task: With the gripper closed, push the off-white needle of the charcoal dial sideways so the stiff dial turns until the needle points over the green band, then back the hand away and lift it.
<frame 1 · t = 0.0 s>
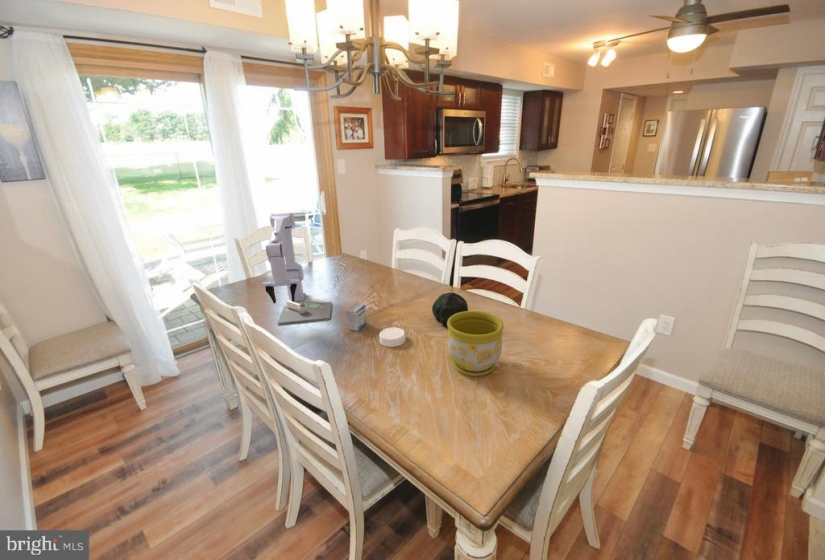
hand: (284, 301, 153), 10 cm above the table, tool pointing down, fingers open, 7 cm apart
squash: (450, 322, 153), on the table
dial base: (303, 314, 164), on the table
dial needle: (296, 306, 166), point 3 cm above the table, hinge at 45.0°
flowerpot: (473, 366, 122), on the table
coaster: (392, 341, 140), on the table
medicine box: (357, 326, 152), on the table
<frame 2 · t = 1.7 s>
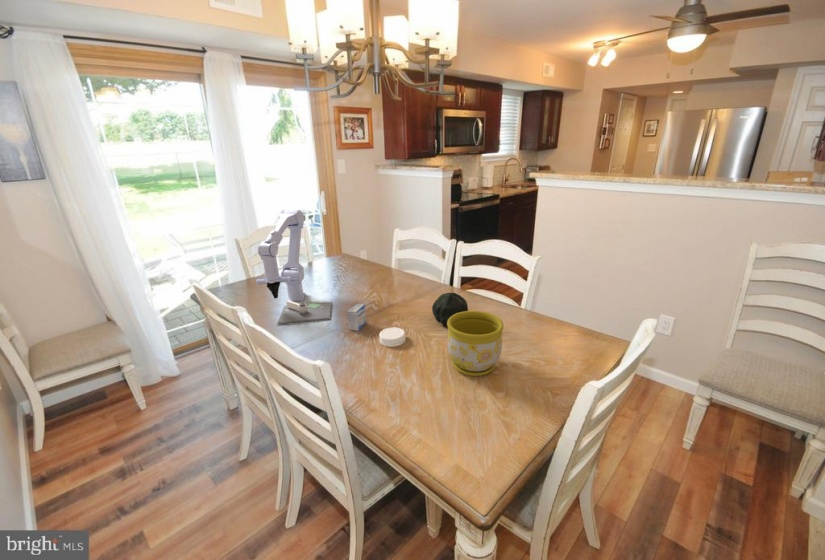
hand: (276, 297, 165), 7 cm above the table, tool pointing down, fingers closed
nothing on the table moved.
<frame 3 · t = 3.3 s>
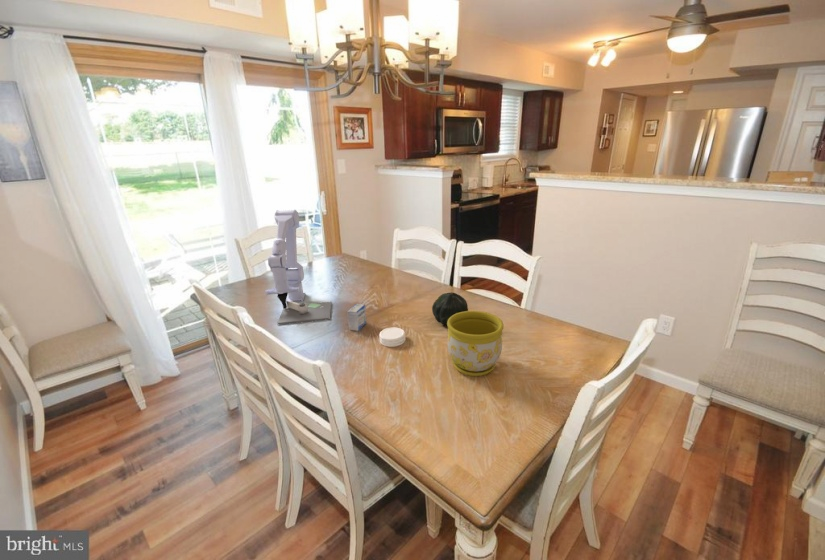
hand: (285, 307, 168), 2 cm above the table, tool pointing down, fingers closed, pressing on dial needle
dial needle: (296, 306, 166), point 3 cm above the table, hinge at 44.5°, touching gripper
everything else where it was.
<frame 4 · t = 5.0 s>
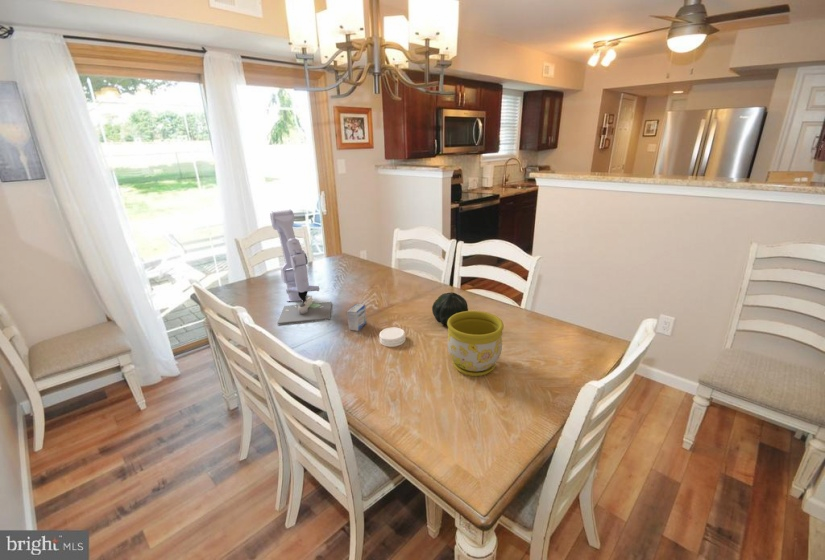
hand: (305, 305, 170), 2 cm above the table, tool pointing down, fingers closed, pressing on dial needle
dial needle: (306, 304, 167), point 3 cm above the table, hinge at -13.9°, touching gripper
everything else where it was.
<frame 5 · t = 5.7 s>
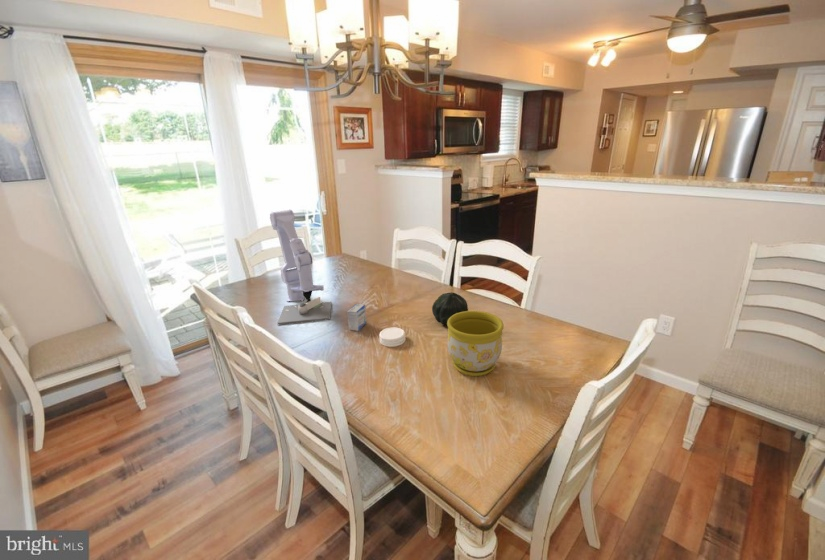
hand: (309, 305, 170), 2 cm above the table, tool pointing down, fingers closed, pressing on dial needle
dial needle: (309, 304, 167), point 3 cm above the table, hinge at -38.5°, touching gripper
everything else where it was.
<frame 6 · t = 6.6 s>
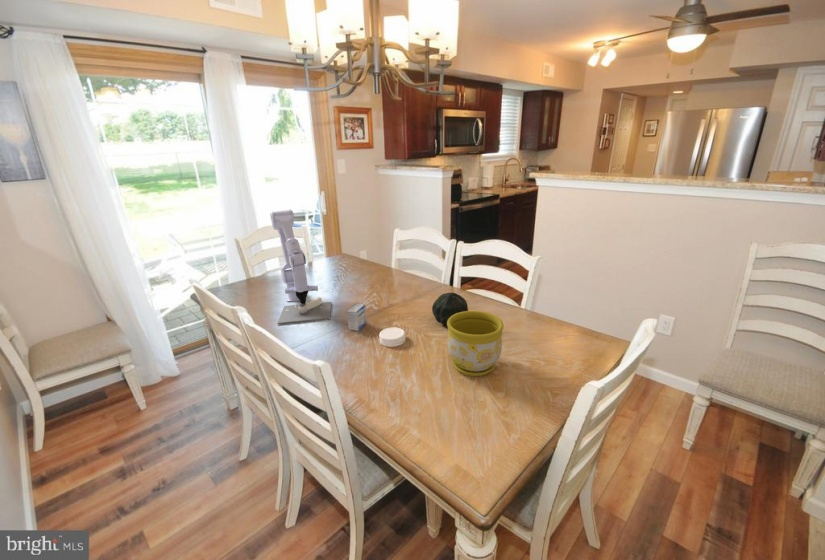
hand: (304, 305, 169), 2 cm above the table, tool pointing down, fingers closed
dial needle: (310, 304, 167), point 3 cm above the table, hinge at -41.7°
everything else where it was.
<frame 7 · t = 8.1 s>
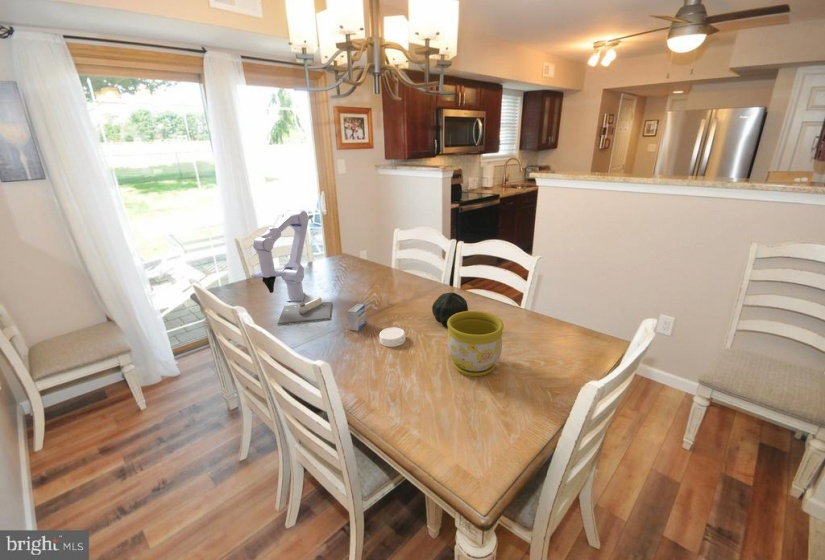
hand: (271, 292, 166), 9 cm above the table, tool pointing down, fingers closed
nothing on the table moved.
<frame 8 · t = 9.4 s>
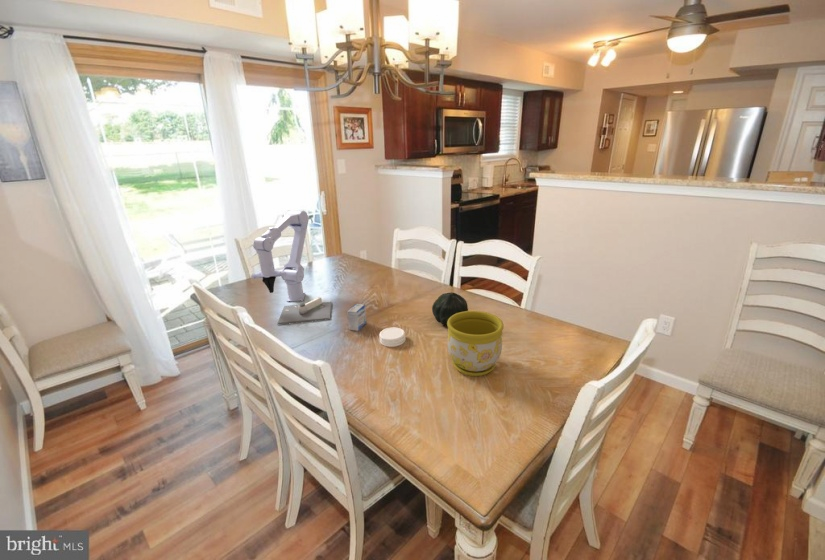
hand: (271, 292, 166), 9 cm above the table, tool pointing down, fingers closed
nothing on the table moved.
at the end: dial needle at -42° (first picture: +45°); medicine box moved 0.3 cm from its start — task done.
